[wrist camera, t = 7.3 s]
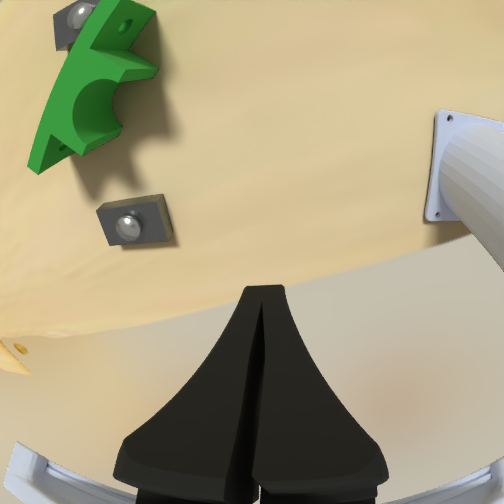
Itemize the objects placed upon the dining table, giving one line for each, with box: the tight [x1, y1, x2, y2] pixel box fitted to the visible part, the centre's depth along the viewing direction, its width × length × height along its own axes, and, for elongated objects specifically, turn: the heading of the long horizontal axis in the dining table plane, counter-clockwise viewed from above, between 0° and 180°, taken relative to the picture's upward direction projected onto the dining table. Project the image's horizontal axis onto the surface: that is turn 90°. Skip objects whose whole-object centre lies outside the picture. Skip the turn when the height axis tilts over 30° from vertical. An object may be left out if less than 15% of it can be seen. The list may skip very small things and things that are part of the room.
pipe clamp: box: [27, 0, 159, 175], centre depth 12 cm, size 11×4×5 cm, turn 141°
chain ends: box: [53, 0, 173, 246], centre depth 15 cm, size 5×18×2 cm, turn 6°
